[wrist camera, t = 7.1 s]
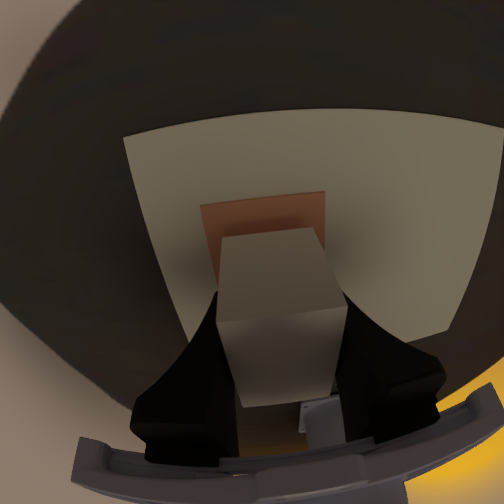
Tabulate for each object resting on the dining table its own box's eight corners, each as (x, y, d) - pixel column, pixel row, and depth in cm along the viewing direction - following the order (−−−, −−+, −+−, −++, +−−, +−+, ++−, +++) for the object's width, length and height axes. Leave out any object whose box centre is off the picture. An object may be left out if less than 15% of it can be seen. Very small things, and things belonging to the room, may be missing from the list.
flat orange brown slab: (320, 309, 18) (320, 312, 17) (226, 321, 18) (226, 323, 18) (324, 190, 13) (325, 192, 13) (200, 205, 13) (199, 206, 13)
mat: (445, 327, 21) (447, 330, 21) (203, 370, 21) (203, 373, 21) (501, 127, 11) (504, 129, 11) (125, 136, 11) (123, 138, 11)
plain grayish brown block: (312, 227, 12) (348, 305, 8) (310, 320, 16) (329, 396, 11) (222, 237, 12) (215, 322, 8) (240, 328, 16) (242, 407, 12)
